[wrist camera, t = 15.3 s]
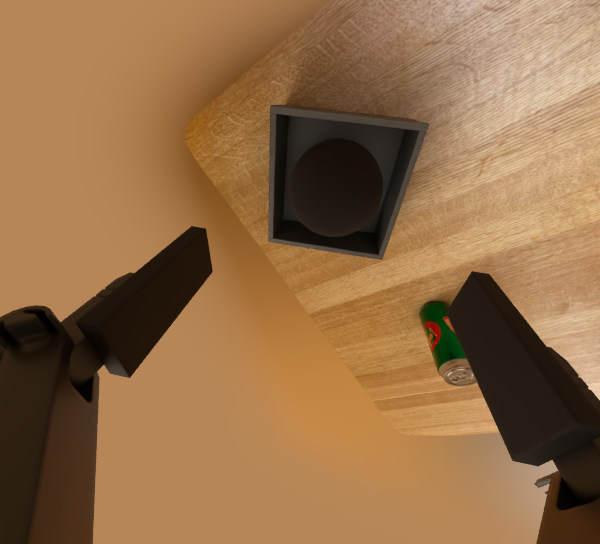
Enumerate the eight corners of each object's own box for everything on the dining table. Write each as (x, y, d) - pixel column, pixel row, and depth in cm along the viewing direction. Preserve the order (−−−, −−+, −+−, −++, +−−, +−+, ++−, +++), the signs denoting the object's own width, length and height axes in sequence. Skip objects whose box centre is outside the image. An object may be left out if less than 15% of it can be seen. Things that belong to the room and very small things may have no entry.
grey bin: (285, 104, 27) (270, 105, 22) (412, 119, 26) (429, 123, 21) (279, 221, 36) (268, 241, 30) (376, 236, 35) (382, 260, 29)
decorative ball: (358, 225, 34) (362, 264, 26) (289, 204, 33) (271, 237, 25) (392, 148, 28) (411, 167, 20) (309, 122, 28) (293, 130, 20)
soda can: (458, 313, 40) (493, 380, 30) (429, 326, 43) (453, 392, 33) (441, 295, 39) (472, 360, 29) (412, 309, 41) (432, 373, 31)
